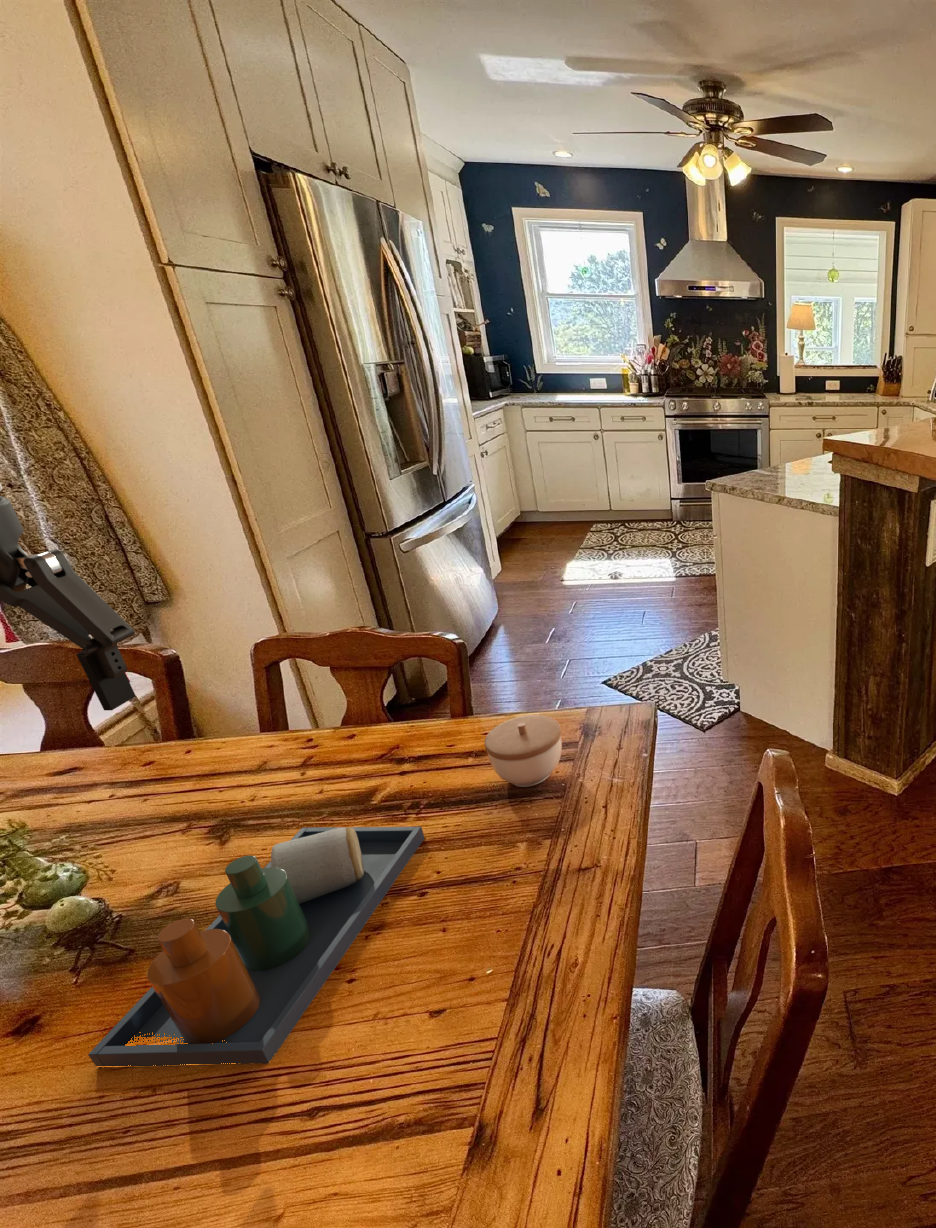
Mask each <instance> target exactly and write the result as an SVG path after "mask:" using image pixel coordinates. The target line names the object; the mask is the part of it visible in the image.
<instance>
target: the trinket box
mask: <svg viewBox="0 0 936 1228" xmlns="http://www.w3.org/2000/svg"><path fill="white" fill-rule="evenodd" d="M484 748H485V750H486V753H487V756H488V759H489V762H490V765H491V767H492V769H493V770H494V772H495V774H497V776H498V777H500V779H502V780H504V781H505V782H507V783H509V784H512V785H514V786H516V787H521V788H527V787H533V786H536V785H539V784H541V783H543V782H544V781H546V779H548V778H549V777H550V776H551V774H552V773H553V772H554V770H555V769H556V768H557V766H558V765H559V762H560V760H561V758H562V750H563V741H562V730H561V724H560V723H559V722H558V720H556V719H555V718H553V717H551V716H549V715H544V714H525V715H519V716H516V717H512V718H510V719H507V720H504V721H502V722H500V723H498V724H497V725H495V726H494V727H493V728H492V729H490V731H489V732H487V734H486V736H485V738H484Z"/></svg>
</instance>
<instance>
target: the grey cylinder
mask: <svg viewBox="0 0 936 1228" xmlns="http://www.w3.org/2000/svg"><path fill="white" fill-rule="evenodd" d="M343 827H344V828H337V829H332V830H329V831H325V832H322V833H318V834H314V835H310V836H306V837H302V838H298V839H294V840H291V839H290V840H286V841H283V842H278V843H275V844H274V845H272V848H271V852H270V861H271V867H275V868H280V869H282V870H284V871H285V872H286V873H287V876H288V878H289V880H290V883H291V885H292V888H293V890H294V892H295V895H296V897H297V899H298V902H299V904H300V903H303V902H306V901H309V900H312V899H314V898H317V897H320V896H322V895H325V894H328V893H331V892H333V891H336V890H339V889H342V888H345V887H347V886H350V885H352V884H354V883H356V882H357V881H359V880H360V879H361V878H362V876H363V875H364V869H363V860H362V855H361V850H360V845H359V841H358V837H357V834H356V832H355V830H354V829H353V828H351V827H352V826H343Z"/></svg>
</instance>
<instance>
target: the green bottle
mask: <svg viewBox="0 0 936 1228" xmlns="http://www.w3.org/2000/svg"><path fill="white" fill-rule="evenodd" d="M224 873H225V875H226V877H227V879H228V881H229V883H228V884H226V886H225V887H223V889H221V891H220V892H219V893H218V895H217V896H216V899H215V903H214V904H215V907H216V909H217V912H218V914H219V915H221V917H222V919H223V921H224V924H225V926H226V928H227V930H228V932H229V934H230V936H231V938H232V940H233V942H234V944H235V946H236V948H237V950H238V952H239V954H240V956H241V958H242V960H243V962H244V964H245V966H246V967H247V968H248V969H250V970H254V971H264V970H269V969H273V968H275V967H278V966H280V965H282V964H284V963H286V962H288V961H290V960H291V959H293V958H294V957H295V956H297V955H298V954H299V953H300V952H301V951H302V950H303V949H304V948H305V947H306V945H307V944H308V942H309V940H310V938H311V930H310V928H309V926H308V923H307V921H306V918H305V916H304V914H303V911H302V909H301V907H300V904H299V902H298V899H297V897H296V895H295V892H294V890H293V888H292V885H291V883H290V880H289V878H288V876H287V873H286V872H285V871H284V870H282V869H280V868H275V867H270V868H265V867H263V868H262V866H261V865H260V862H259V860H258V858H257V857H256V856H255V855H250V854H249V855H244V856H241V857H237V858H236V859H234V860H232V861H231V862H229V863H228V864H227V866H226V867H225V869H224Z"/></svg>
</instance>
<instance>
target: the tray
mask: <svg viewBox="0 0 936 1228" xmlns="http://www.w3.org/2000/svg"><path fill="white" fill-rule="evenodd" d="M344 827H345V826H339V827H338V826H337V827H336V826H332V827H331V826H329V827H328V826H327V827H323V826H321V827H319V826H318V827H317V826H316V827H301V828H300V829H299V831H297V833H295V835H293V836H292V838H291V839H290V840H294V839H298V838H302V837H306V836H310V835H314V834H318V833H322V832H325V831H329V830H332V829H337V828H344ZM350 827H351V828H353V829H354V830H355V832H356V834H357V837H358V841H359V845H360V850H361V855H362V860H363V869H364V875H363V876H362V878H361V879H360V880H359V881H357V882H356V883H354V884H352V885H350V886H347V887H345V888H342V889H339V890H336V891H333V892H331V893H328V894H325V895H322V896H320V897H317V898H314V899H312V900H309V901H306V902H303V903H300V907H301V909H302V911H303V914H304V916H305V918H306V921H307V923H308V926H309V928H310V930H311V938H310V940H309V942H308V944H307V945H306V947H305V948H304V949H303V950H302V951H301V952H300V953H299V954H298V955H297V956H295V957H294V958H293V959H291V960H290V961H288V962H286V963H284V964H282V965H280V966H278V967H275V968H273V969H269V970H264V971H254V970H250V969H248V968H247V967H246V966H245V967H246V969H247V971H248V973H249V975H250V977H251V979H252V981H253V983H254V985H255V987H256V989H257V991H258V993H259V995H260V1004H259V1007H258V1009H257V1011H256V1012H255V1014H254V1015H253V1016H252V1018H251V1019H250V1020H249V1021H248V1022H247V1023H246V1024H245V1025H244V1026H243V1027H241V1028H240V1029H239V1030H238V1031H236V1032H235V1033H233V1034H232V1035H230V1036H228V1037H226V1038H224V1039H222V1040H223V1042H222V1040H220V1041H218V1042H215V1043H213V1044H180V1040H181V1039H182V1040H181V1043H182V1041H183V1043H186V1042H185V1040H183V1038H180V1037H182V1036H181V1034H180V1032H179V1031H178V1029H177V1027H176V1026H175V1024H174V1022H173V1020H172V1019H171V1017H170V1015H169V1014H168V1012H167V1010H166V1009H165V1007H164V1005H163V1004H162V1002H161V1000H160V999H159V997H158V995H157V994H156V992H155V990H154V989H153V987H152V986H151V987H150V988H149V989H148V991H146V993H144V994H143V996H142V997H140V999H139V1000H138V1001H137V1002H136V1003H135V1004H134V1005H133V1006H132V1007H131V1008H130V1009H129V1011H127V1013H126V1014H125V1015H124V1016H123V1017H122V1018H121V1019H120V1020H119V1021H118V1022H117V1023H116V1024H115V1025H114V1027H113V1028H112V1029H110V1030H109V1032H108V1033H107V1034H106V1035H105V1036H104V1037H103V1038H102V1039H101V1040H100V1041H99V1042H98V1043H97V1044H96V1046H94V1047H93V1049H92V1050H91V1051H90V1052H89V1053H88V1054H87V1055H88V1057H89V1059H90V1060H91V1061H92V1063H93V1064H94V1066H95V1067H96V1066H128V1065H129V1066H130V1065H131V1066H153V1065H154V1066H155V1065H156V1066H163V1065H164V1066H163V1067H168V1066H167V1065H180V1064H181V1065H182V1064H183V1065H184V1064H185V1065H186V1064H221V1063H222V1064H223V1063H224V1064H225V1063H226V1064H227V1063H228V1064H229V1063H230V1064H231V1063H236V1065H239V1064H238V1063H241V1064H240V1065H247V1064H246V1063H249V1064H248V1065H251V1064H250V1063H257V1064H256V1065H261V1064H260V1063H263V1064H262V1065H264V1064H265V1063H266V1064H265V1065H268V1064H267V1063H269V1061H270V1060H271V1059H272V1060H273V1058H274V1057H275V1055H276V1054H277V1053H278V1051H279V1050H278V1049H280V1048H281V1047H282V1045H283V1044H284V1043H285V1041H286V1040H287V1038H288V1037H289V1035H290V1034H291V1032H292V1031H293V1029H294V1028H295V1026H296V1025H297V1024H298V1022H299V1020H300V1019H301V1018H302V1016H303V1015H304V1014H305V1012H306V1011H307V1009H309V1006H310V1005H311V1004H312V1002H313V1001H314V999H315V997H316V996H317V995H318V993H319V992H320V991H321V990H322V987H323V986H324V985H325V983H326V982H327V981H328V979H329V977H330V976H331V975H332V973H333V972H334V970H335V969H336V967H337V966H338V964H339V963H340V961H341V959H343V958H344V956H345V954H346V953H347V952H348V950H349V949H350V947H351V946H352V944H353V943H354V941H355V940H356V938H357V937H358V936H359V934H360V932H361V931H362V930H363V928H364V927H365V925H366V924H367V923H368V921H369V920H370V918H371V917H372V915H373V914H374V912H375V911H376V910H377V908H378V906H379V905H380V904H381V902H382V900H383V899H384V897H386V895H387V893H388V892H389V890H390V889H391V887H393V885H394V884H395V881H396V880H397V879H398V877H399V876H400V875H401V874H402V872H403V870H404V869H405V868H406V866H407V864H408V863H409V862H410V860H411V859H412V857H413V856H414V854H415V853H416V851H417V850H418V848H419V847H420V845H421V844H422V843H423V841H424V840H425V834H424V832H423V827H422V826H350ZM270 867H271V860H270V861H268V863H267V864H266V866H264V868H270ZM209 929H221V930H224V931H226V932H228V930H227V928H226V926H225V924H224V921H223V919H222V917H221V915H220V914H219V915H218V916H217V917H216V918H215V919H214V920H213V921H212V922H211V923H210V924H209V925H208V927H207V928H206V929H205V930H209ZM228 933H229V932H228ZM229 935H230V934H229ZM230 937H231V936H230ZM231 939H232V938H231ZM232 941H233V940H232ZM233 943H234V942H233ZM234 945H235V944H234ZM235 947H236V946H235ZM236 949H237V948H236ZM237 951H238V950H237ZM238 953H239V952H238ZM239 955H240V954H239ZM240 957H241V956H240ZM241 959H242V958H241ZM242 961H243V960H242ZM243 963H244V962H243ZM244 965H245V964H244ZM139 1032H141V1033H139ZM152 1032H153V1035H152ZM147 1033H148V1035H147ZM149 1033H150V1035H149ZM164 1033H165V1035H164ZM144 1034H146V1035H145V1036H144ZM157 1034H158V1036H157ZM159 1034H160V1036H159ZM174 1034H175V1035H174ZM134 1035H135V1037H137V1036H138V1037H139V1036H140V1035H141V1037H146V1038H147V1037H152V1036H153V1037H154V1035H155V1037H156V1038H157V1037H160V1038H161V1037H162V1038H163V1037H164V1036H165V1037H172V1039H173V1038H174V1037H175V1039H176V1037H177V1038H179V1041H178V1039H177V1042H178V1043H179V1044H175V1045H136V1046H125V1044H127V1043H128V1041H130V1040H131V1038H132V1037H133V1038H132V1040H133V1041H134ZM142 1035H143V1036H142ZM169 1035H170V1036H169ZM156 1038H155V1039H156ZM135 1039H136V1038H135ZM143 1039H144V1038H143ZM158 1039H159V1038H158ZM168 1039H169V1038H168ZM168 1039H167V1041H168ZM138 1040H139V1038H138ZM153 1040H154V1039H153ZM170 1040H171V1038H170ZM224 1040H225V1041H224ZM148 1041H149V1040H148ZM150 1041H151V1040H150ZM165 1041H166V1040H165ZM173 1041H174V1040H172V1043H173ZM175 1041H176V1040H175ZM135 1042H136V1041H135ZM137 1042H138V1041H137ZM143 1042H144V1041H143ZM160 1042H161V1040H160ZM162 1042H163V1040H162ZM177 1042H176V1043H177ZM226 1042H227V1043H226ZM130 1043H131V1042H130ZM132 1043H133V1042H132ZM155 1043H156V1041H155ZM164 1043H165V1042H164ZM167 1043H168V1042H167ZM275 1053H276V1054H275ZM274 1054H275V1055H274ZM273 1056H274V1057H273ZM272 1057H273V1058H272ZM272 1060H271V1061H272ZM271 1061H270V1062H271ZM244 1063H245V1064H244ZM258 1063H259V1064H258ZM269 1064H270V1063H269ZM165 1065H166V1066H165Z"/></svg>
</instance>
